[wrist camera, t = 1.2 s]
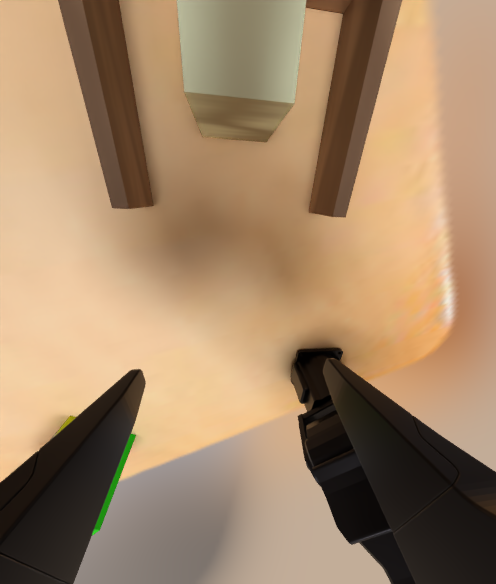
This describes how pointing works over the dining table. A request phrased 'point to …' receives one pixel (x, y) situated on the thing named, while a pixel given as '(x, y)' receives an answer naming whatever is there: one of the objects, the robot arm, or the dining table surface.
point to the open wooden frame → (124, 118)
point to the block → (240, 64)
